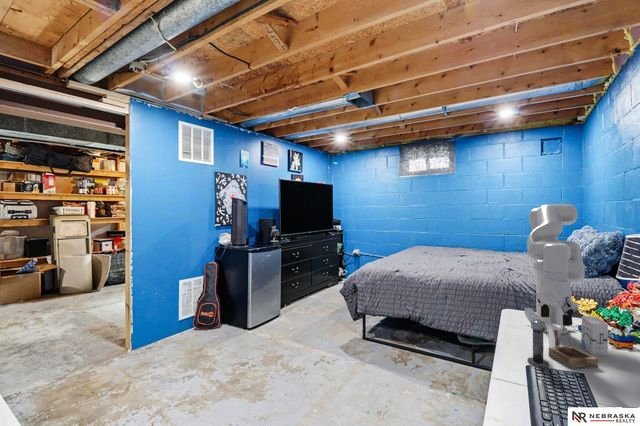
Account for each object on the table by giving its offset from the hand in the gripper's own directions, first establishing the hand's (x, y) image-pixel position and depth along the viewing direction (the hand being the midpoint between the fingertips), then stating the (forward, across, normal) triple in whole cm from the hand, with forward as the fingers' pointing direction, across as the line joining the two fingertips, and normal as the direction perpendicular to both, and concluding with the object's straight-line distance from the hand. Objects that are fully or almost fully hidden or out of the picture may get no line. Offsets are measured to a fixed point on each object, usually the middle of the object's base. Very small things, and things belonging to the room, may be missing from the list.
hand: (555, 321), depth 116 cm
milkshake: (+11, -1, +1) cm, 11 cm away
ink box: (+11, +2, +14) cm, 18 cm away
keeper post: (+11, +9, -15) cm, 21 cm away
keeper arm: (-1, +3, -12) cm, 13 cm away
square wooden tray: (+11, +9, -2) cm, 14 cm away
